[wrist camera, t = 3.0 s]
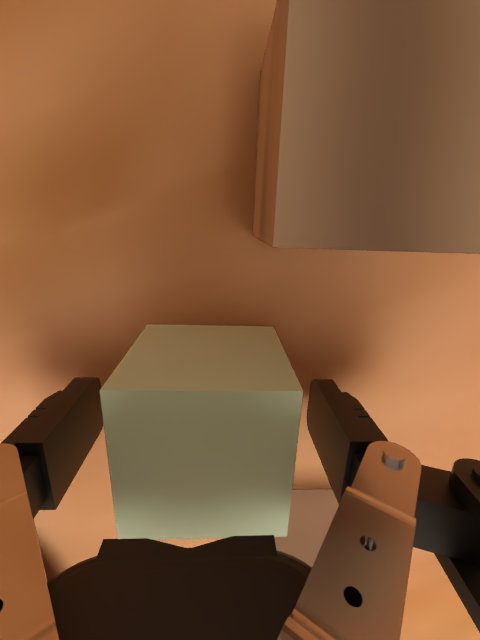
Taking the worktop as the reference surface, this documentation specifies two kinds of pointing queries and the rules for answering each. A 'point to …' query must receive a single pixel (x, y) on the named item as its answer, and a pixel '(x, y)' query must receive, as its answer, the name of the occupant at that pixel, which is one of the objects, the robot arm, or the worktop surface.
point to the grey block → (308, 523)
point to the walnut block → (370, 126)
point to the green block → (202, 433)
